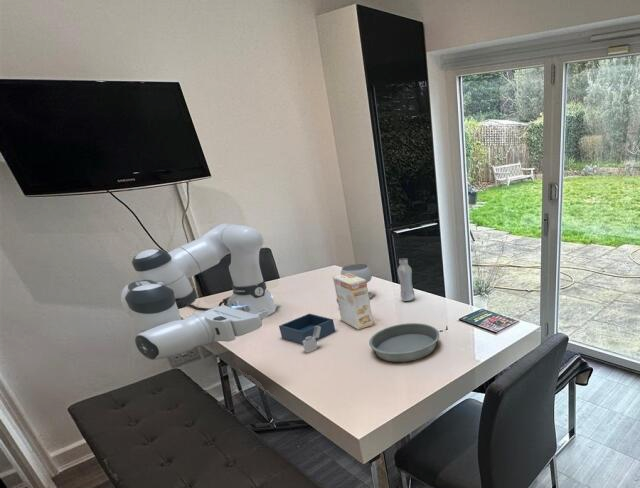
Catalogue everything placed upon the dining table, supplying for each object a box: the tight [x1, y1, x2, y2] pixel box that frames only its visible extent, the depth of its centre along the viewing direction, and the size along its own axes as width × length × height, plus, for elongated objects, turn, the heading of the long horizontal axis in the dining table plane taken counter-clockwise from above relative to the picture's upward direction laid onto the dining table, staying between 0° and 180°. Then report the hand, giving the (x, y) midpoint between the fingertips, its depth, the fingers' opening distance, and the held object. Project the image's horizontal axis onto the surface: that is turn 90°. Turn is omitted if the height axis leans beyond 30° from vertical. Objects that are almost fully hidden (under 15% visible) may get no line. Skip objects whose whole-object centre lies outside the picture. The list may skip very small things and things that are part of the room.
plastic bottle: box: [396, 257, 416, 302], centre depth 190 cm, size 6×7×20 cm
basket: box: [278, 313, 336, 345], centre depth 159 cm, size 14×14×5 cm
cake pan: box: [368, 322, 440, 363], centre depth 148 cm, size 25×25×4 cm
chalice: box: [340, 263, 374, 299], centre depth 195 cm, size 14×14×15 cm
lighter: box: [302, 326, 321, 354], centre depth 147 cm, size 7×2×8 cm, turn 148°
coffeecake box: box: [332, 273, 374, 330], centre depth 166 cm, size 15×7×20 cm, turn 47°
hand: (257, 310), depth 128 cm, fingers open, 8 cm apart
